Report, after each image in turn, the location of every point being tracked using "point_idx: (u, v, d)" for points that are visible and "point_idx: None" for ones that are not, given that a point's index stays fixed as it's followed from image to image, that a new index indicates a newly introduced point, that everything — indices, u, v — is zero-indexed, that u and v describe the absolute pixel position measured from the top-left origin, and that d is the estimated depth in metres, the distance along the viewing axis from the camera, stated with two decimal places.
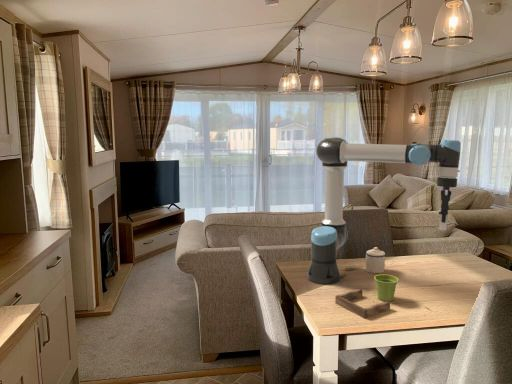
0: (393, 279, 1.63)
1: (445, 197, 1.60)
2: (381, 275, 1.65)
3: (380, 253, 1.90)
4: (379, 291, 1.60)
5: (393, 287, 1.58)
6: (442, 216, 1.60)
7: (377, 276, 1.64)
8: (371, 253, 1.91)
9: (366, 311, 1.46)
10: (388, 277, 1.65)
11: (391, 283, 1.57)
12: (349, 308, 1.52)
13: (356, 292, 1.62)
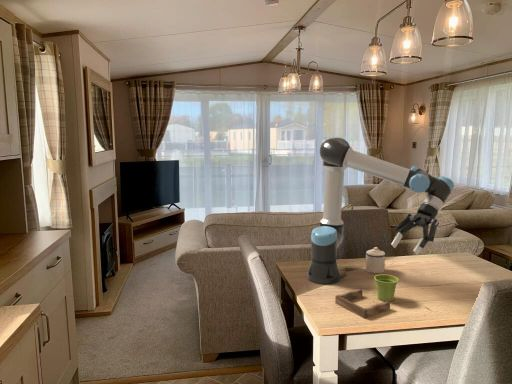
0: (393, 279, 1.63)
1: (435, 226, 1.62)
2: (381, 275, 1.65)
3: (380, 253, 1.90)
4: (379, 291, 1.60)
5: (393, 287, 1.58)
6: (425, 241, 1.60)
7: (377, 276, 1.64)
8: (371, 253, 1.91)
9: (366, 311, 1.46)
10: (388, 277, 1.65)
11: (391, 283, 1.57)
12: (349, 308, 1.52)
13: (356, 292, 1.62)
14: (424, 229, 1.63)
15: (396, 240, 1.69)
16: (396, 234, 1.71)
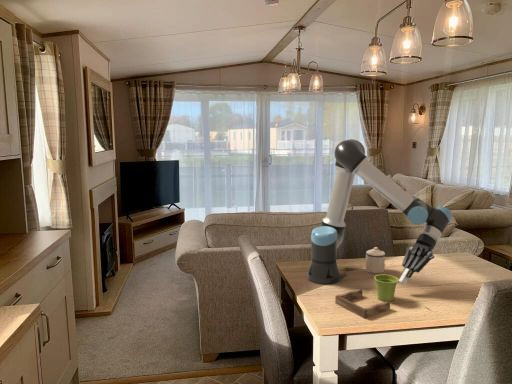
0: (393, 279, 1.63)
1: (427, 259, 1.65)
2: (381, 275, 1.65)
3: (380, 253, 1.90)
4: (379, 291, 1.60)
5: (393, 287, 1.58)
6: (411, 272, 1.66)
7: (377, 276, 1.64)
8: (371, 253, 1.91)
9: (366, 311, 1.46)
10: (388, 277, 1.65)
11: (391, 283, 1.57)
12: (349, 308, 1.52)
13: (356, 292, 1.62)
14: (416, 260, 1.67)
15: None
16: (403, 270, 1.68)
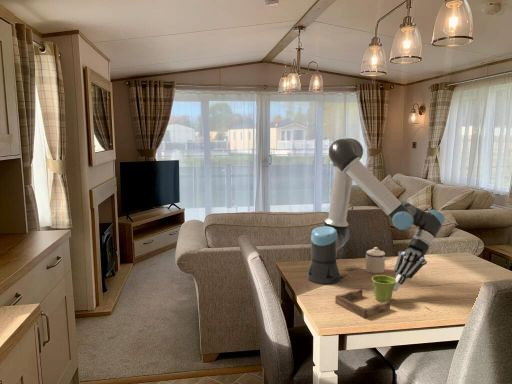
0: (391, 280, 1.62)
1: (420, 265, 1.61)
2: (379, 276, 1.64)
3: (380, 253, 1.90)
4: (377, 292, 1.59)
5: (391, 288, 1.57)
6: (403, 278, 1.61)
7: (375, 277, 1.63)
8: (371, 253, 1.91)
9: (366, 311, 1.46)
10: (385, 278, 1.64)
11: (389, 284, 1.56)
12: (349, 308, 1.52)
13: (356, 292, 1.62)
14: (408, 265, 1.63)
15: (396, 283, 1.62)
16: (396, 276, 1.64)
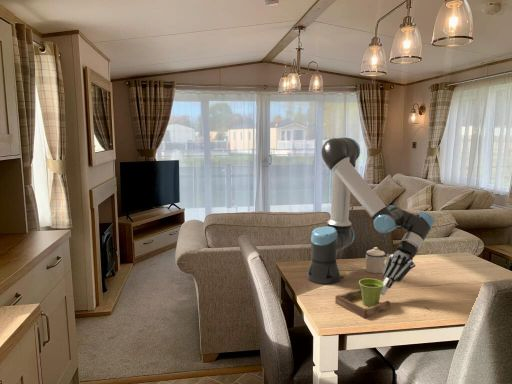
0: (378, 283, 1.58)
1: (408, 268, 1.57)
2: (366, 279, 1.61)
3: (380, 253, 1.90)
4: (364, 296, 1.55)
5: (378, 292, 1.53)
6: (391, 281, 1.58)
7: (362, 280, 1.60)
8: (371, 253, 1.91)
9: (366, 311, 1.46)
10: (373, 281, 1.60)
11: (376, 288, 1.52)
12: (349, 308, 1.52)
13: (356, 292, 1.62)
14: (396, 268, 1.60)
15: None
16: (383, 279, 1.61)
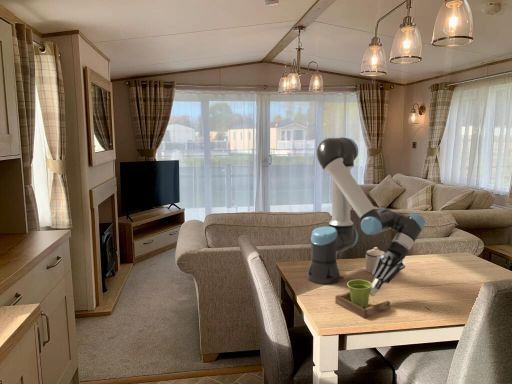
0: (367, 284, 1.57)
1: (397, 269, 1.56)
2: (355, 280, 1.59)
3: (380, 253, 1.90)
4: (352, 298, 1.54)
5: (366, 293, 1.52)
6: (380, 282, 1.56)
7: (351, 282, 1.58)
8: (371, 253, 1.91)
9: (366, 311, 1.46)
10: (362, 282, 1.59)
11: (364, 289, 1.51)
12: (349, 308, 1.52)
13: None
14: (386, 270, 1.58)
15: None
16: (373, 280, 1.59)
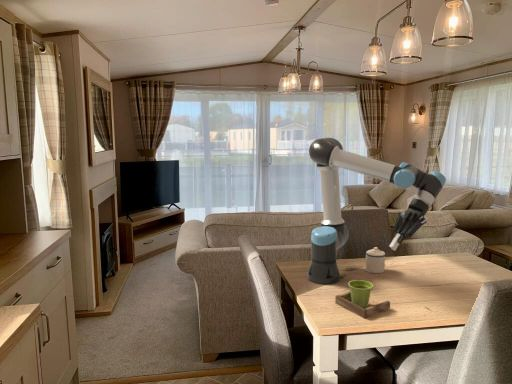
0: (368, 285, 1.57)
1: (419, 224, 1.59)
2: (356, 281, 1.59)
3: (380, 253, 1.90)
4: (353, 298, 1.54)
5: (367, 294, 1.52)
6: (402, 237, 1.60)
7: (352, 282, 1.58)
8: (371, 253, 1.91)
9: (366, 311, 1.46)
10: (363, 283, 1.59)
11: (365, 289, 1.51)
12: (349, 308, 1.52)
13: None
14: (407, 225, 1.62)
15: None
16: (395, 235, 1.63)
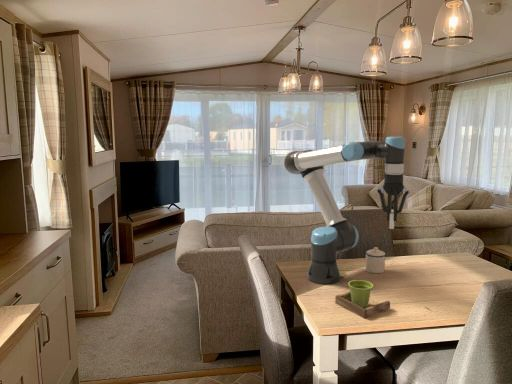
0: (368, 285, 1.57)
1: (405, 197, 1.66)
2: (356, 281, 1.59)
3: (380, 253, 1.90)
4: (353, 298, 1.54)
5: (367, 294, 1.52)
6: (396, 215, 1.68)
7: (352, 282, 1.58)
8: (371, 253, 1.91)
9: (366, 311, 1.46)
10: (363, 283, 1.59)
11: (365, 289, 1.51)
12: (349, 308, 1.52)
13: None
14: (395, 202, 1.67)
15: None
16: (388, 215, 1.70)
